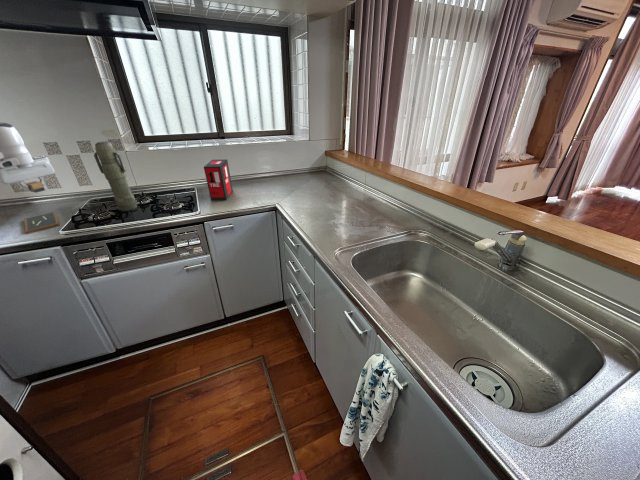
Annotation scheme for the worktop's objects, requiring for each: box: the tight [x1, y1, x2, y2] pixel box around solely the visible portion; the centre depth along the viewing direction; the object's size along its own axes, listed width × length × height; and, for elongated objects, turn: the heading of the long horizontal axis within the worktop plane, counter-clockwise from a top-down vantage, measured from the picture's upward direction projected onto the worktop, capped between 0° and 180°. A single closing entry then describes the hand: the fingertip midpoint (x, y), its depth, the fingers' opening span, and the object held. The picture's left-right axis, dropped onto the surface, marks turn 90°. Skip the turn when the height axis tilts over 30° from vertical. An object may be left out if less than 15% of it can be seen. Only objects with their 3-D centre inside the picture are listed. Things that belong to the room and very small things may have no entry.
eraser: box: [24, 180, 46, 194], centre depth 134 cm, size 6×4×4 cm, turn 66°
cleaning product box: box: [203, 158, 234, 202], centre depth 160 cm, size 16×9×20 cm, turn 3°
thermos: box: [93, 141, 138, 212], centre depth 140 cm, size 9×12×35 cm
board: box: [23, 211, 61, 235], centre depth 132 cm, size 20×12×1 cm, turn 45°
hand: (35, 187), depth 134 cm, fingers closed on eraser, 4 cm apart
